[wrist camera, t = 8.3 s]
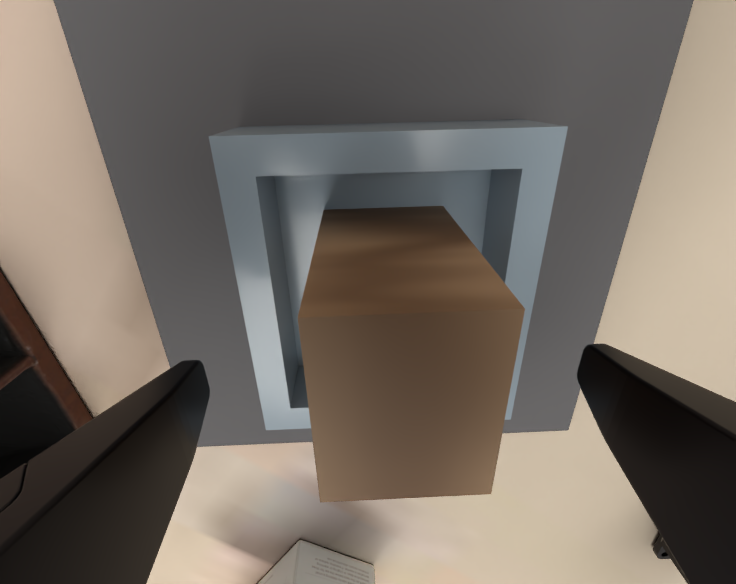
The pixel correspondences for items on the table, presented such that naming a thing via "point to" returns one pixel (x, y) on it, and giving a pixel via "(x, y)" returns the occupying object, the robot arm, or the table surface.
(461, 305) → the short wooden block
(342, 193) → the tray
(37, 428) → the letter holder
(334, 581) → the small box
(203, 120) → the coaster
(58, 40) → the table surface
